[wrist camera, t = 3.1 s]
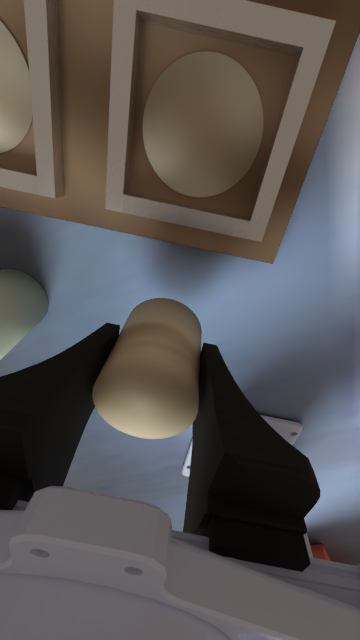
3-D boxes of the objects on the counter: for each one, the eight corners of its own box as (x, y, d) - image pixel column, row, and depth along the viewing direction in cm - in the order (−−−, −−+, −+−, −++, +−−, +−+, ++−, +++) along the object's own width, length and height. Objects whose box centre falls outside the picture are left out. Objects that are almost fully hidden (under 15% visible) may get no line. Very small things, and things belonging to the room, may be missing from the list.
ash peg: (192, 368, 16) (187, 446, 11) (123, 353, 16) (91, 427, 11) (209, 307, 14) (210, 375, 9) (130, 290, 14) (93, 351, 9)
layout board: (269, 258, 16) (276, 270, 14) (-85, 183, 15) (-122, 186, 14) (360, 5, 10) (390, -24, 9) (-169, -116, 10) (-246, -171, 8)
